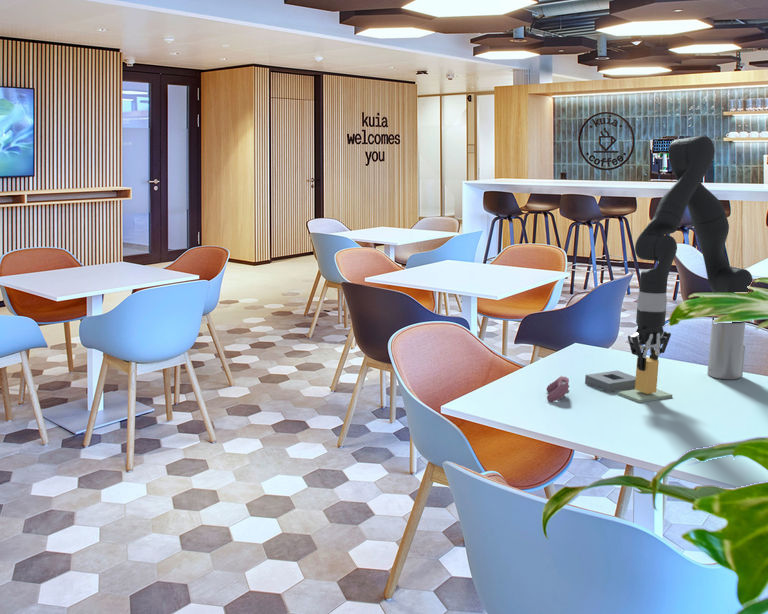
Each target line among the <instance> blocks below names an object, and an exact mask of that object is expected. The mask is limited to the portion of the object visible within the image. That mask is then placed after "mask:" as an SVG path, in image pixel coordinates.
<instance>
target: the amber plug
mask: <svg viewBox="0 0 768 614" xmlns="http://www.w3.org/2000/svg"><path fill="white" fill-rule="evenodd" d="M645 358H646V368H645V371H641V370H639V369H638V367H637V366H636V368H635V369H636V370H635V377H636V381H635V388H634V390H638V391H641V392H643V393H646V394H649V393H655V392H656V389H658V388H657V387H658V376H659V375H658V373H659V359H658V360H654V359H651V358H649V356H646V357H645ZM637 363H638V357H636V364H637Z"/></svg>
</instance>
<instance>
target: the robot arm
mask: <svg viewBox="0 0 768 614" xmlns="http://www.w3.org/2000/svg"><path fill="white" fill-rule="evenodd" d="M715 149H716V148H715V145H714V143H713V140H712V139H711V138H710V137H709V136H706V135H698V136H692V137H685V138H679V139H675V140H673V141H671V142H670V144H669V146H668V151H667V152H668V153H667V154H668V162H669V165H670V167H671V169H672V170H671V171H672V172H673V174H674V176H675V179H676V182H675V183H674V184H673V185H672V186H671V187H670V188H669V189H668V191H666V193H664V195H663V197H661V200H659V203H658V205H657V207H656V210H655V212H654V215H653V218H652V219H651V221H650V222H649V223H648V224H647V225H646V226H645V228H644V229H643V230H642V232H641V233H640V234H639V236H638V237H637V239H636V242H635V245H634V252H635V255H636V256H637V258H638V259H639V260H644V261H653V262H654V261H655V262H658V263H657V265H656V267H655V268H647V269H643V270H641V272H640V276H639V289H638V294H637V295H638V296H637V303H636V318H635V323H636V325H637V329H636V331H635V333H634V334H633V335H631V334H629V335H628V336H627V340H628V344H629V347H630V351H631V354H632V355H634V356H637V358H638V363H637V362H636V367H638V369H639V370H641V371H645V368H646V358H645V357H647V354H648V350H649V356H648V358H651V359H654V360H658V361H659V356H660V355H661V354H664V353H665V352H666V349H667V346H668V343H669V341H670V338H671V335H672V334H671V332H668V331H665V330H664V328H663V327H664V326H665V325H666V316H667V315H666V314H667V303H668V298H667V297H668V296H667V289H668V288H667V287H668V279H669V275H670V270H671V267H672V264H673V262H674V260H675V257H676V255H677V250H678V245H677V241H676V239H675V238H674V237H673V236H672V234H674V233H676V232H677V231H678V228H679V227H680V224H681V221H682V219H683V217H684V215H685V212H686V209H688V213H689V216H690V219H691V222H692V226H693V228H694V232H695V234H696V237H697V240H698V244H699V247H700V250H701V254H702V257H703V262H704V267H705V271H706V272H705V273H706V277H707V281H708V285H709V289H710V290H711V291H712V293H713V292H748V291H749V289H748V288H747V286H749V285H750V284H751V282H752V281H753V283H752V284H751V285H752V287H753V286H754V280H753V279H754V278H753V276H752V274H751V272H750V271H749V270H748V269H745V268H740V267H734V266H730V264H729V262H728V260H727V257H726V254H725V244H726V241H727V239H728V235H729V231H730V224H729V221H728V217H727V213H726V210H725V207H724V205H723V204H722V202H721V200H720V199H718V197H717V196H716V195H714V194H713V193H712V192H711V191H710V190H709V189H708V188H706V186H705V185H703V183H702V181H703V179H704V177H705V176H706V174H707V172H708V171H709V169H710V168H711V166H712V163H713V161H714V158H715V152H716V151H715ZM753 288H754V287H753ZM711 319H712V320H711V326H710V327H711V329H710V340H709V353H708V360H707V361H708V362H707V375H708V376H709V377H712V378H715V379H720V380H737V379H738V380H739V379H740V378H741V377H743V375H744V374H743V372H744V365H745V364H744V363H745V354H746V346H745V344H744V342H745V332H746V331H745V330H746V321H745V322H732V323H717V324H714V323H713V320H714V318H712V317H711Z"/></svg>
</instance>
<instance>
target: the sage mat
mask: <svg viewBox="0 0 768 614" xmlns="http://www.w3.org/2000/svg"><path fill="white" fill-rule="evenodd" d="M618 396H621V397H624V398H626V399H628V400H630V401H633V402H636V403H641V404H642V403H646V402H652V401H658V400H665V399H670V398H671V399H672V398H673V394H672V393H670V392H666V391H664V390H660V389H659V388H657V389H656V392H655V393H649V394H646V393H643V392H641V391H638V390H635V389H627V390H621V391H618Z"/></svg>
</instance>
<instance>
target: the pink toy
mask: <svg viewBox="0 0 768 614" xmlns="http://www.w3.org/2000/svg"><path fill="white" fill-rule="evenodd" d="M569 383H570V381H569V378H568V377H567V376H563V375H560V376H559V377H557V378H556V379H555V380H554V381H552V382H551V383H549V384H548V385H547V387H546V392H547V393H548V394H547V396H546V399H547V401H548V402H556V401H557V400H562V398H564V396H565V395H566V394H567V395H568V394H569V393H570V390H569V388H570V385H569Z"/></svg>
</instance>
